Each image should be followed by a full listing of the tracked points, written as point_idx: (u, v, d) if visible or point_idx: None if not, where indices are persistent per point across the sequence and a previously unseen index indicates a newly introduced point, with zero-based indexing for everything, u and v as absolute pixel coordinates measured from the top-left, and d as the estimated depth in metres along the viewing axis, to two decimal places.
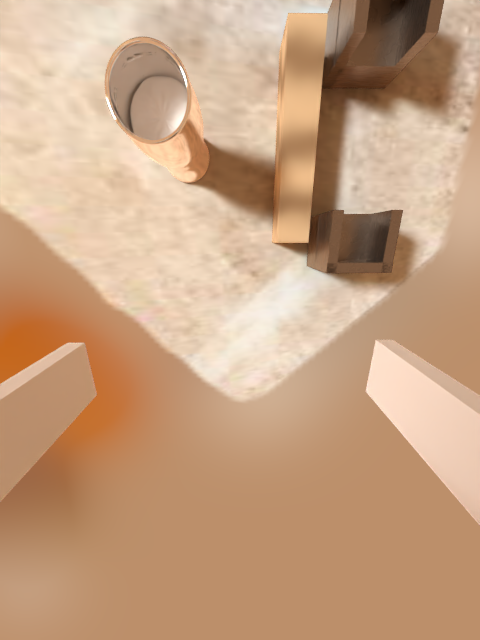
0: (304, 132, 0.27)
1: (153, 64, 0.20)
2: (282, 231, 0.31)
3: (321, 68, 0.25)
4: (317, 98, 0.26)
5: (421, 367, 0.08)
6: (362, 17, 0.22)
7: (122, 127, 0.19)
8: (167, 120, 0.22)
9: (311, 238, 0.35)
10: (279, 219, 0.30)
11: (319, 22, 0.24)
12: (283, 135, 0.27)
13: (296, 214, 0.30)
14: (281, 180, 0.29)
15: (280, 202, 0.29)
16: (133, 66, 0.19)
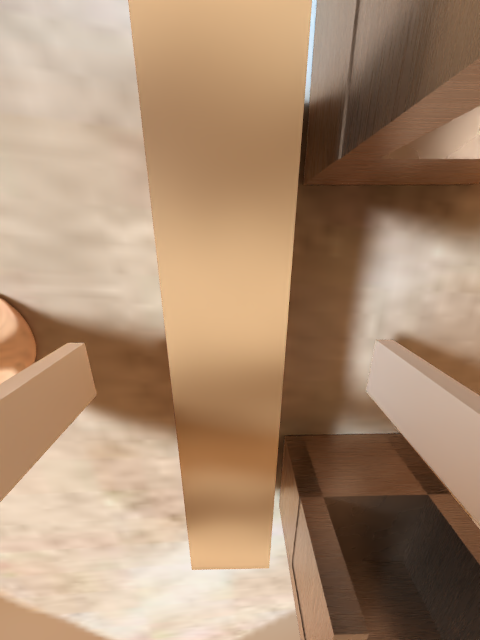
0: (239, 368, 0.08)
1: None
2: (201, 553, 0.12)
3: (291, 182, 0.06)
4: (279, 277, 0.07)
5: (421, 367, 0.08)
6: None
7: None
8: None
9: (285, 483, 0.16)
10: (190, 532, 0.11)
11: None
12: (173, 374, 0.08)
13: (234, 527, 0.11)
14: (183, 468, 0.10)
15: (187, 507, 0.11)
16: None
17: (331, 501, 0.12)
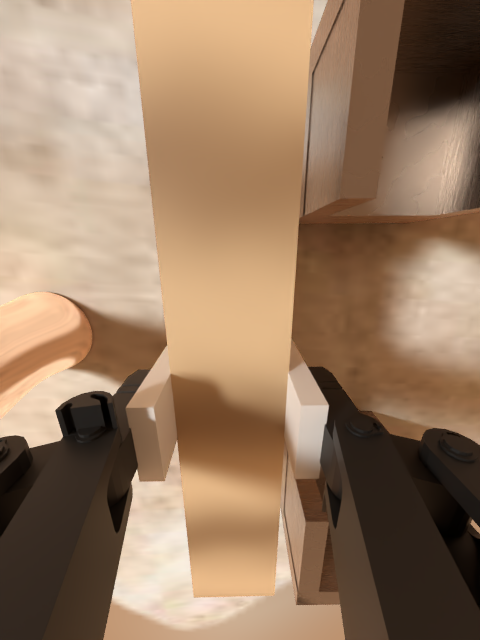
0: (242, 388, 0.08)
1: None
2: (203, 580, 0.11)
3: (293, 206, 0.06)
4: (282, 298, 0.07)
5: None
6: (365, 162, 0.08)
7: None
8: None
9: None
10: (192, 558, 0.11)
11: (277, 30, 0.05)
12: (175, 395, 0.08)
13: (238, 552, 0.11)
14: (185, 491, 0.10)
15: (189, 531, 0.10)
16: None
17: None
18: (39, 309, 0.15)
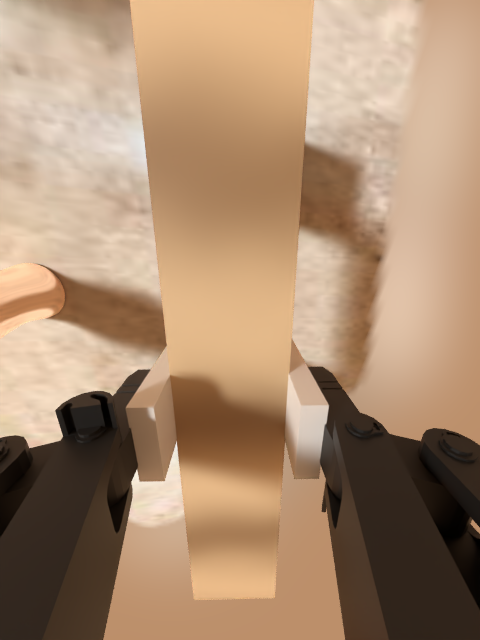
0: (243, 390, 0.08)
1: None
2: (204, 583, 0.11)
3: (293, 208, 0.06)
4: (282, 301, 0.07)
5: None
6: None
7: None
8: None
9: None
10: (192, 560, 0.11)
11: (277, 31, 0.05)
12: (175, 397, 0.08)
13: (238, 554, 0.11)
14: (185, 493, 0.10)
15: (189, 534, 0.10)
16: None
17: None
18: (26, 273, 0.23)
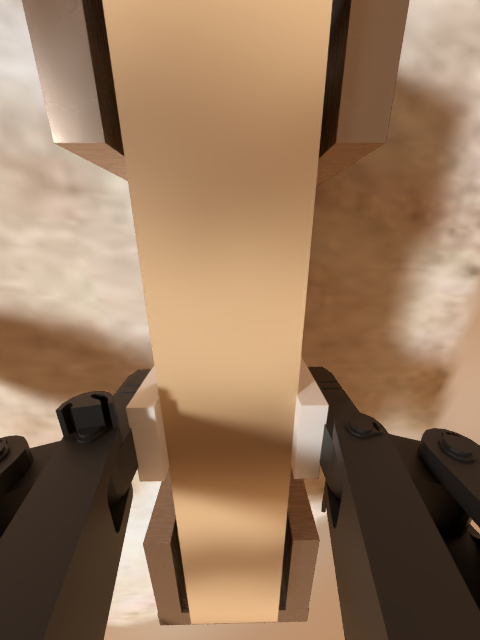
0: (243, 412, 0.07)
1: None
2: (201, 608, 0.11)
3: (306, 198, 0.05)
4: (291, 311, 0.06)
5: None
6: (73, 87, 0.05)
7: None
8: None
9: None
10: None
11: None
12: (165, 420, 0.07)
13: (238, 581, 0.10)
14: (179, 520, 0.09)
15: (185, 560, 0.09)
16: None
17: None
18: None
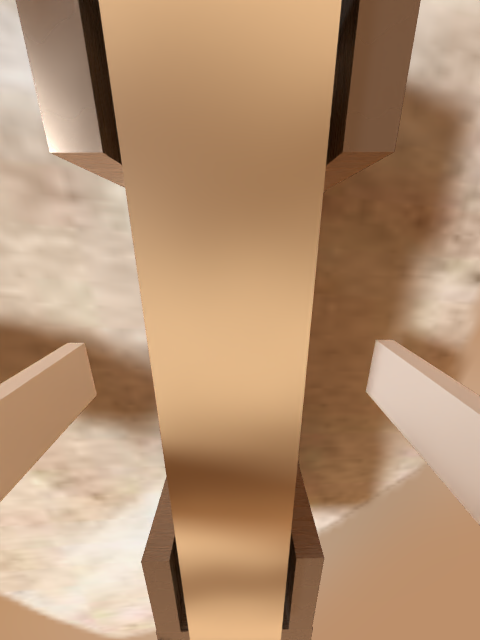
0: (246, 430, 0.07)
1: None
2: (201, 629, 0.10)
3: (312, 210, 0.05)
4: (296, 326, 0.06)
5: (421, 367, 0.08)
6: (70, 96, 0.05)
7: None
8: None
9: None
10: None
11: None
12: (164, 438, 0.07)
13: (240, 601, 0.10)
14: (179, 540, 0.08)
15: (184, 581, 0.09)
16: None
17: None
18: None
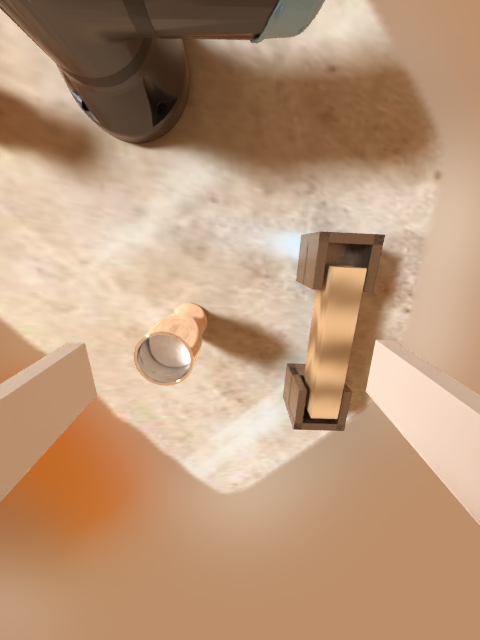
0: (340, 344, 0.32)
1: None
2: (316, 410, 0.35)
3: (358, 302, 0.30)
4: (353, 322, 0.31)
5: (421, 367, 0.08)
6: (319, 281, 0.30)
7: (144, 376, 0.27)
8: (175, 347, 0.30)
9: (286, 381, 0.43)
10: (314, 401, 0.35)
11: (359, 273, 0.29)
12: (323, 345, 0.32)
13: (329, 399, 0.34)
14: (318, 375, 0.33)
15: (316, 390, 0.34)
16: None
17: (301, 377, 0.39)
18: (195, 311, 0.38)
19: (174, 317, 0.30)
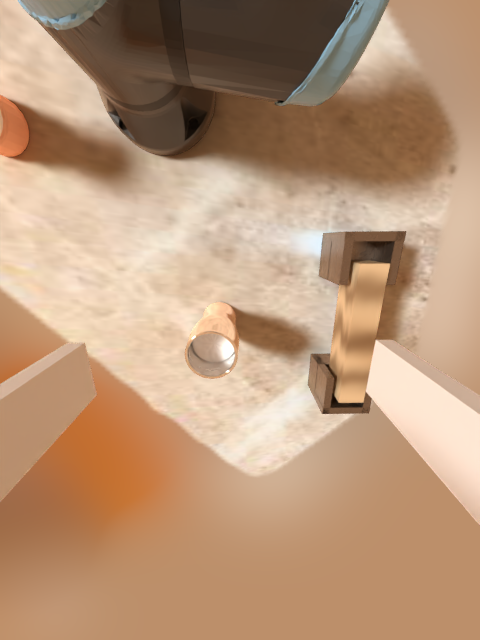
0: (366, 334, 0.35)
1: None
2: (343, 395, 0.38)
3: (382, 295, 0.33)
4: (378, 313, 0.34)
5: (421, 367, 0.08)
6: (345, 277, 0.33)
7: (193, 371, 0.30)
8: (216, 344, 0.33)
9: (311, 370, 0.46)
10: (341, 387, 0.38)
11: (383, 268, 0.32)
12: (349, 335, 0.35)
13: (355, 385, 0.37)
14: (345, 363, 0.36)
15: (343, 377, 0.37)
16: None
17: (327, 365, 0.42)
18: (226, 309, 0.41)
19: (214, 317, 0.33)
